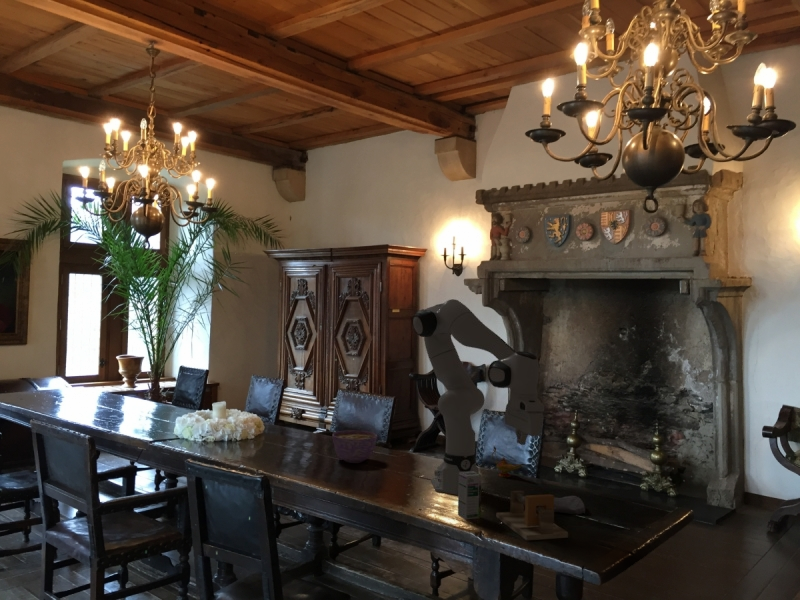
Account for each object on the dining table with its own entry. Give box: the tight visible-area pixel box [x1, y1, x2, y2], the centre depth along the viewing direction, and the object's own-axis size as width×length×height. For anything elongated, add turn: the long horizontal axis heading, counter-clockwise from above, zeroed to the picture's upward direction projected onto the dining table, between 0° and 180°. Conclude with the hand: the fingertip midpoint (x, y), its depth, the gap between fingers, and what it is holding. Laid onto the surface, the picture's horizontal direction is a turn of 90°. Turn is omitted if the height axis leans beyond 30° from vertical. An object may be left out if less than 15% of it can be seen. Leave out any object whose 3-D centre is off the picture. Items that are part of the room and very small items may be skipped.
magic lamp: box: [491, 446, 526, 478], centre depth 273 cm, size 7×18×11 cm, turn 41°
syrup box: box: [457, 471, 483, 521], centre depth 219 cm, size 6×6×14 cm
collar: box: [524, 493, 555, 527], centre depth 205 cm, size 2×9×9 cm, turn 106°
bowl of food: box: [331, 430, 378, 464], centre depth 290 cm, size 20×20×12 cm
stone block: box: [554, 495, 586, 515], centre depth 230 cm, size 12×5×10 cm
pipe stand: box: [496, 489, 569, 541], centre depth 210 cm, size 22×14×8 cm, turn 16°
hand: (521, 443), depth 215 cm, fingers closed
